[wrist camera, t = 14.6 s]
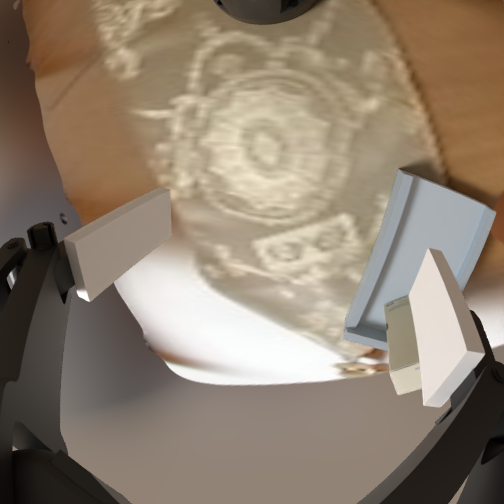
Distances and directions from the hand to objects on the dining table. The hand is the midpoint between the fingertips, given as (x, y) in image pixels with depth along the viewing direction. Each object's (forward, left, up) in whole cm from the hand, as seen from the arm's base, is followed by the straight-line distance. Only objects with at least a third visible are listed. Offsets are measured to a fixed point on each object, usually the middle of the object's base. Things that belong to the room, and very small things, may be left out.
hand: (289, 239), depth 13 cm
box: (+16, +16, -23) cm, 32 cm away
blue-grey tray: (+10, +16, -25) cm, 31 cm away
